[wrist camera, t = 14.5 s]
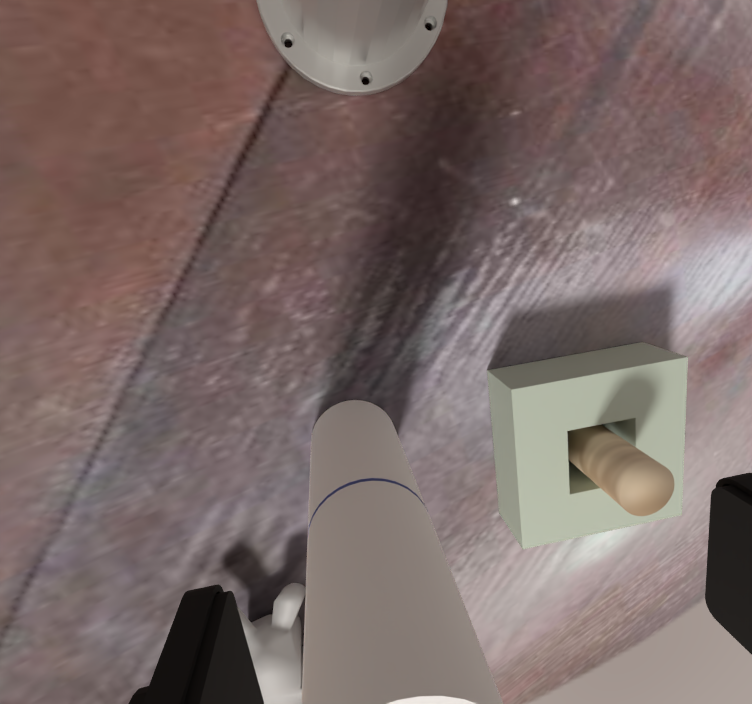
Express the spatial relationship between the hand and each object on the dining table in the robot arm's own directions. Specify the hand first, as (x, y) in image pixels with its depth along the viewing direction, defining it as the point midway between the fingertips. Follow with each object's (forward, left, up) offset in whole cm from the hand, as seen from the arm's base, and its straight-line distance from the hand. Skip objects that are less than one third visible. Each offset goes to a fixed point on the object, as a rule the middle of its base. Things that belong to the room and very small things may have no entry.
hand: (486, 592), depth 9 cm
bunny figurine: (+28, -12, -29) cm, 42 cm away
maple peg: (+13, +17, -28) cm, 35 cm away
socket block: (+13, +17, -28) cm, 35 cm away
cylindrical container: (+10, -2, -28) cm, 30 cm away
